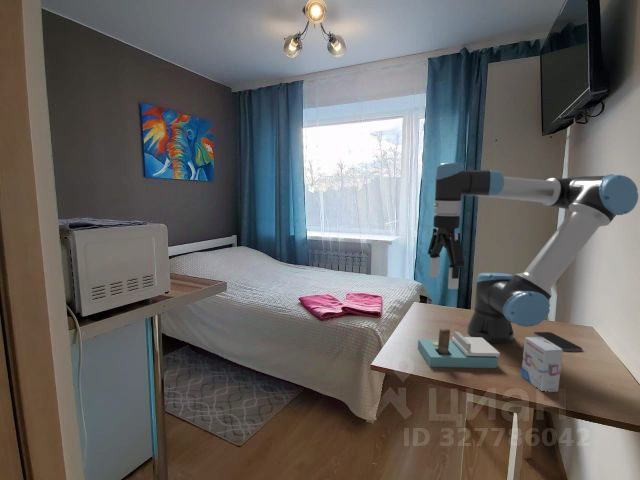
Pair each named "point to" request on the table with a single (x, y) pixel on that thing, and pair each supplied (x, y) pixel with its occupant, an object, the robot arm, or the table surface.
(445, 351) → the peg
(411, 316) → the table surface
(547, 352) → the ink box
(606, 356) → the table surface
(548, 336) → the smartphone
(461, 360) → the board
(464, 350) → the cover
